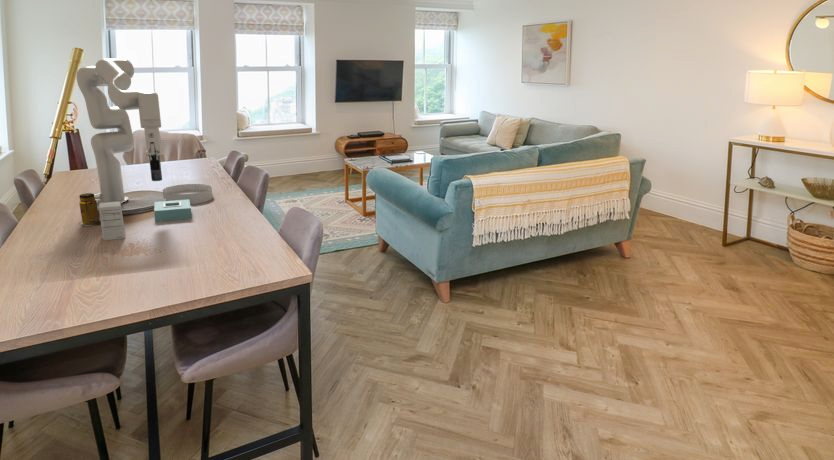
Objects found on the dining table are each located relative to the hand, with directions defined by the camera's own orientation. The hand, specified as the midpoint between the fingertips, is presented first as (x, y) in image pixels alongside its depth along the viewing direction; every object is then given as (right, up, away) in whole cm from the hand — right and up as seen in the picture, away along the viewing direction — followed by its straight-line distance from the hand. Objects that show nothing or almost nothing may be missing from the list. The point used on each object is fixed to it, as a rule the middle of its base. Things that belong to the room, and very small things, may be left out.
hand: (155, 168), depth 240 cm
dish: (-2, -11, +39) cm, 41 cm away
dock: (+3, -19, +11) cm, 22 cm away
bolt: (0, -5, +1) cm, 5 cm away
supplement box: (-7, -28, -19) cm, 34 cm away
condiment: (-24, -23, -2) cm, 33 cm away
